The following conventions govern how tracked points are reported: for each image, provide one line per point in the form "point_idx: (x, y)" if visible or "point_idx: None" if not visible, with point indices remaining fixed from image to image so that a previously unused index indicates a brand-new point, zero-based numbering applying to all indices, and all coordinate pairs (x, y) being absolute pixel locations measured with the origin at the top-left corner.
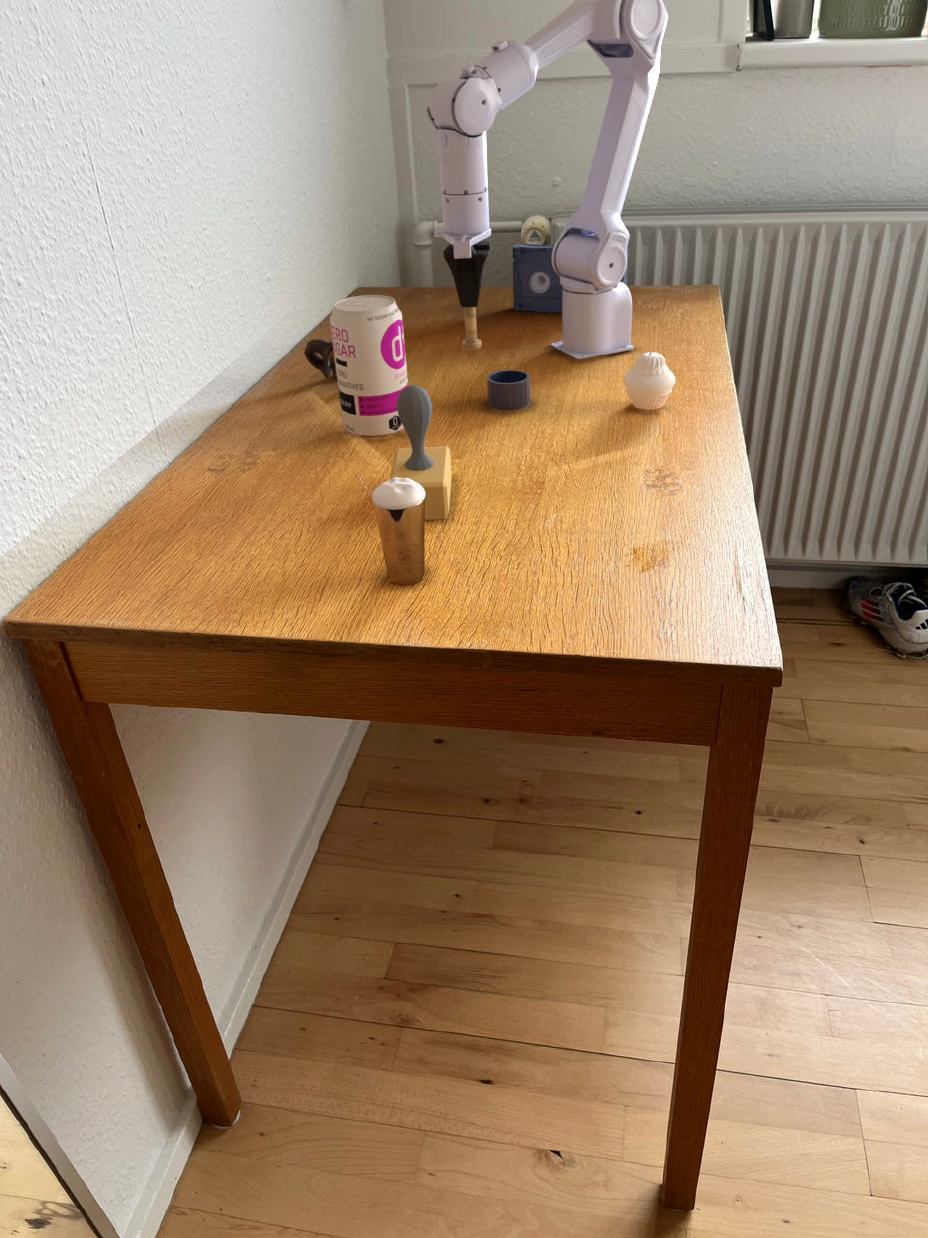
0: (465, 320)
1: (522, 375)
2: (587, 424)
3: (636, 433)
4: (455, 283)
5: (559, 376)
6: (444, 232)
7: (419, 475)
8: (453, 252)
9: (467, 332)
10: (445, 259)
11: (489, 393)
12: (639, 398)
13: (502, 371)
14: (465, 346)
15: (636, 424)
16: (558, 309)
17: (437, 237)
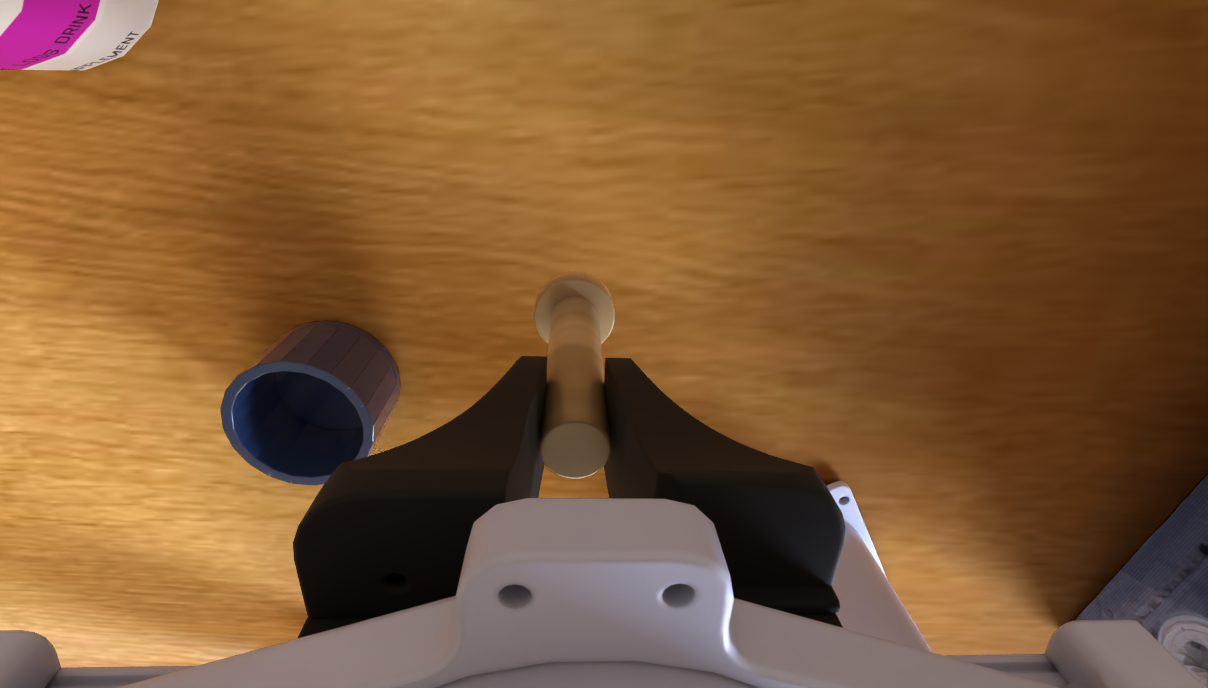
0: (560, 336)
1: (352, 457)
2: (227, 547)
3: (191, 626)
4: (474, 404)
5: (585, 495)
6: (408, 684)
7: None
8: (337, 580)
9: (553, 321)
10: (336, 469)
11: (269, 350)
12: None
13: (355, 407)
14: (541, 291)
15: (246, 628)
16: (1192, 504)
17: (470, 533)
